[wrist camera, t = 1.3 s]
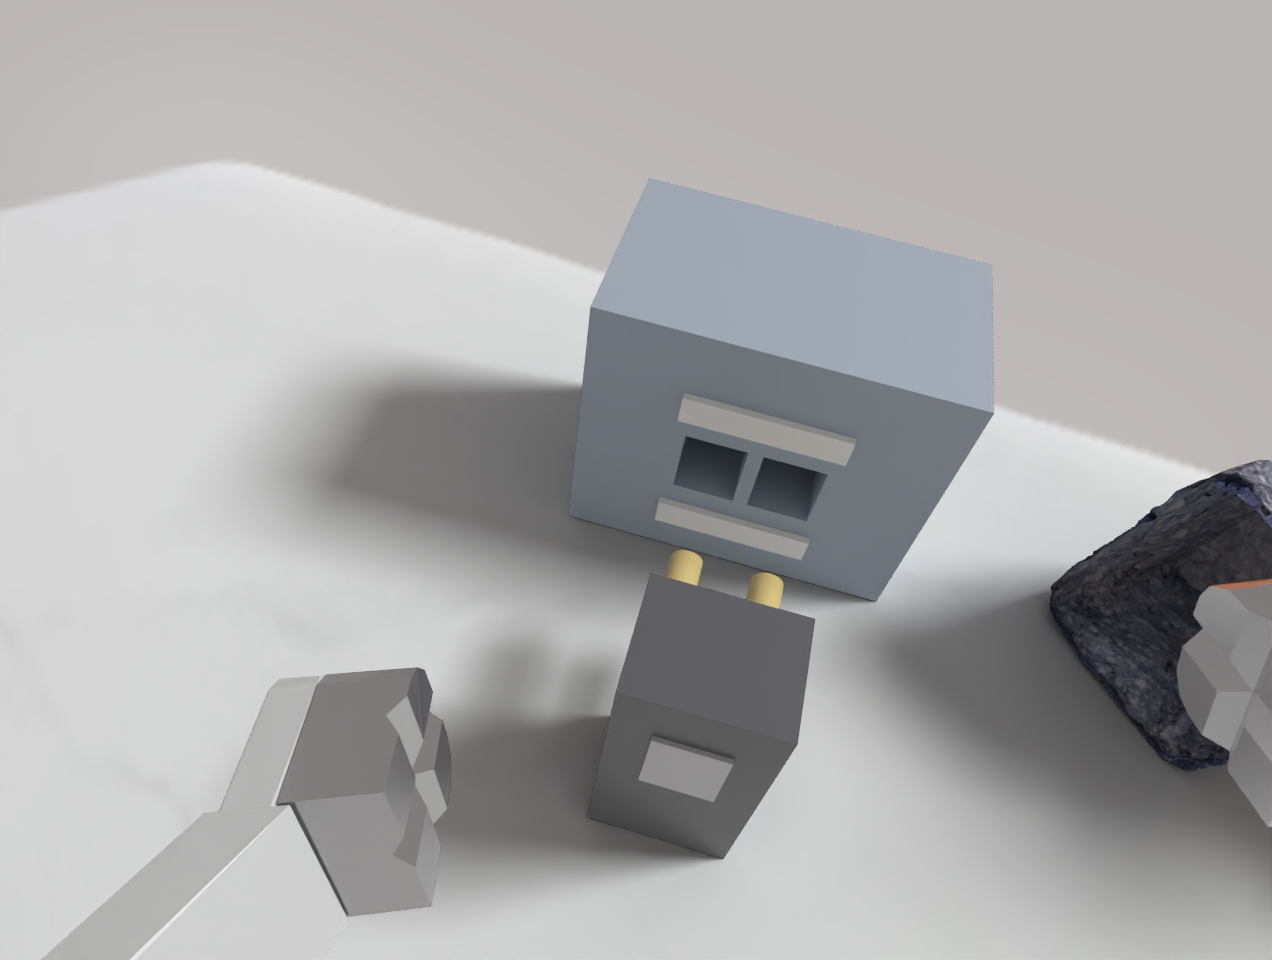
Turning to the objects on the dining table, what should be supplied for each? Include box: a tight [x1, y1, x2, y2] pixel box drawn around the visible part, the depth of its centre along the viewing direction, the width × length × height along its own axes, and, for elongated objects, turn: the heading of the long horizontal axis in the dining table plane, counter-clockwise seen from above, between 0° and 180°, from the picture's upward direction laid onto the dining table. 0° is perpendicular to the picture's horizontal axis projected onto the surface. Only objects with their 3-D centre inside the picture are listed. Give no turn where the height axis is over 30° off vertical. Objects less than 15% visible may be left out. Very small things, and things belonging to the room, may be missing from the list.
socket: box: [569, 178, 994, 601], centre depth 37 cm, size 14×9×12 cm, turn 76°
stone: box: [1050, 460, 1272, 771], centre depth 35 cm, size 12×10×10 cm
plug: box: [587, 550, 815, 859], centre depth 30 cm, size 5×8×10 cm, turn 166°
